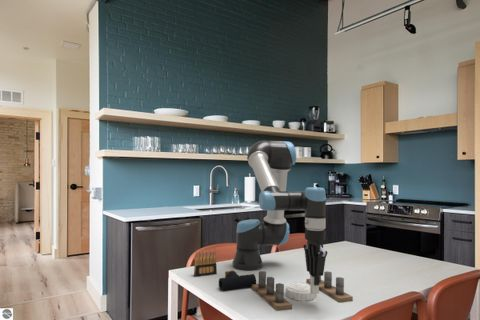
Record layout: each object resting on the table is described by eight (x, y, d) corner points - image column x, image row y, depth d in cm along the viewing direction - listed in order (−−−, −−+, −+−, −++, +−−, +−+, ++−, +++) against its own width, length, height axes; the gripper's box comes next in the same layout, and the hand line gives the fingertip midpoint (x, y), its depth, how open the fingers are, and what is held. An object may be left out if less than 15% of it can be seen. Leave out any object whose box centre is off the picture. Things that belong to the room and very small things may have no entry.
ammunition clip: (195, 277, 157) (195, 250, 158) (193, 275, 159) (194, 249, 159) (216, 274, 162) (217, 248, 162) (215, 273, 164) (215, 247, 164)
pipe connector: (213, 271, 149) (244, 267, 155) (213, 283, 149) (244, 279, 155) (223, 279, 139) (256, 275, 145) (222, 293, 139) (256, 288, 145)
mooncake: (295, 288, 145) (295, 279, 145) (322, 295, 137) (322, 286, 138) (280, 296, 136) (280, 286, 136) (307, 304, 128) (307, 294, 128)
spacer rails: (251, 288, 144) (251, 270, 144) (318, 281, 154) (318, 264, 154) (276, 310, 121) (277, 289, 121) (352, 300, 132) (352, 280, 132)
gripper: (297, 226, 133) (296, 288, 132) (315, 232, 121) (315, 300, 120) (314, 226, 136) (313, 286, 135) (334, 231, 124) (333, 298, 123)
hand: (314, 293), depth 128 cm, fingers closed
